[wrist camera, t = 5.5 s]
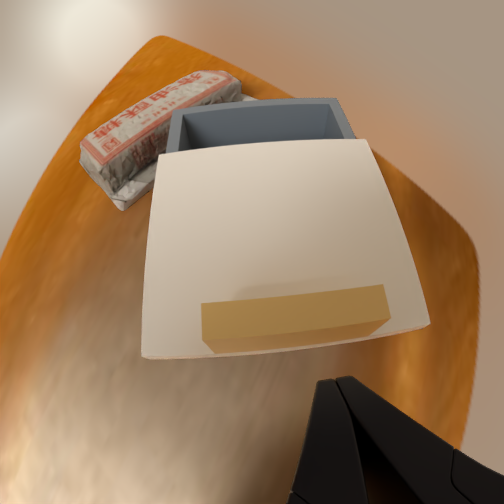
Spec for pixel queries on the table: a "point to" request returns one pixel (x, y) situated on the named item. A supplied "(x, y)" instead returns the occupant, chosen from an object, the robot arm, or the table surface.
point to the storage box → (257, 123)
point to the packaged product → (148, 134)
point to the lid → (274, 252)
